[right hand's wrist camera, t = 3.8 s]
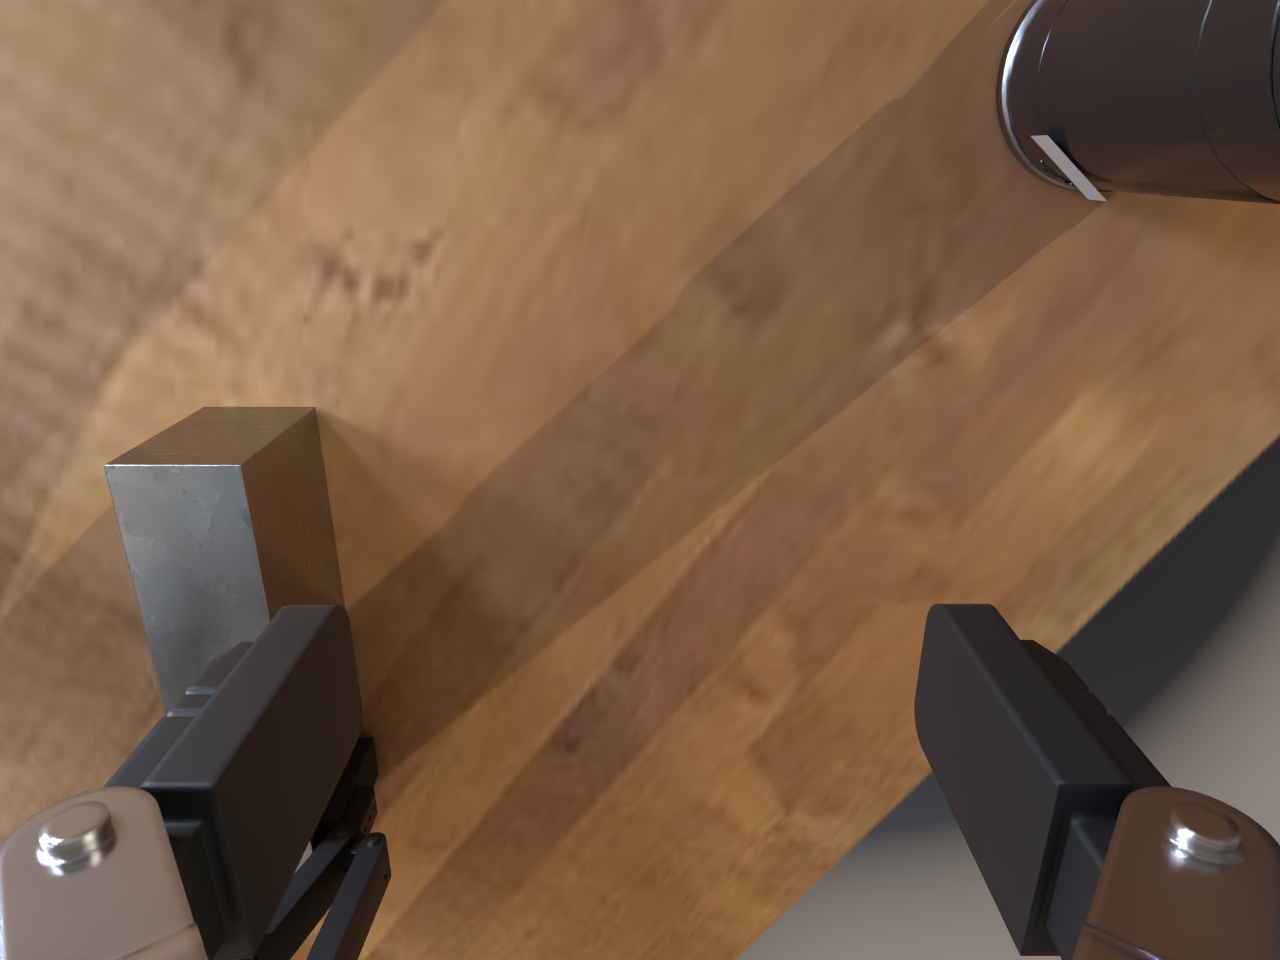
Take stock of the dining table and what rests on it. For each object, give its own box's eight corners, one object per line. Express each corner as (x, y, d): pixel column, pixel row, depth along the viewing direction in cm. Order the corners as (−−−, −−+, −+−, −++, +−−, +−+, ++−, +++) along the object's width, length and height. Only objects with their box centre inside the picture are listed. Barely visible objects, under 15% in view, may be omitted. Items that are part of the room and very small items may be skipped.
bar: (203, 406, 42) (103, 465, 34) (315, 406, 42) (240, 465, 34) (281, 798, 52) (216, 916, 44) (373, 798, 52) (324, 916, 44)
